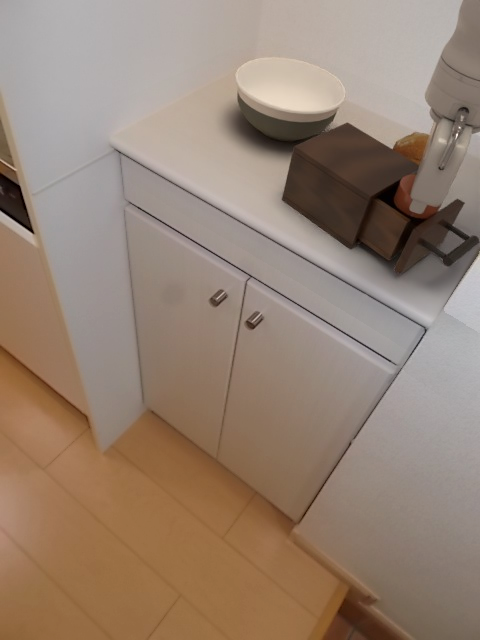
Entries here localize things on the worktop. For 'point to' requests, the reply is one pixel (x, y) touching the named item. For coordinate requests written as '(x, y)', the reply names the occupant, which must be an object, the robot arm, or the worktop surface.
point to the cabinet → (342, 179)
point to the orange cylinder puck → (410, 199)
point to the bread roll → (412, 146)
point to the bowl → (288, 97)
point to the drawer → (411, 232)
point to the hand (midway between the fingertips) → (420, 194)
